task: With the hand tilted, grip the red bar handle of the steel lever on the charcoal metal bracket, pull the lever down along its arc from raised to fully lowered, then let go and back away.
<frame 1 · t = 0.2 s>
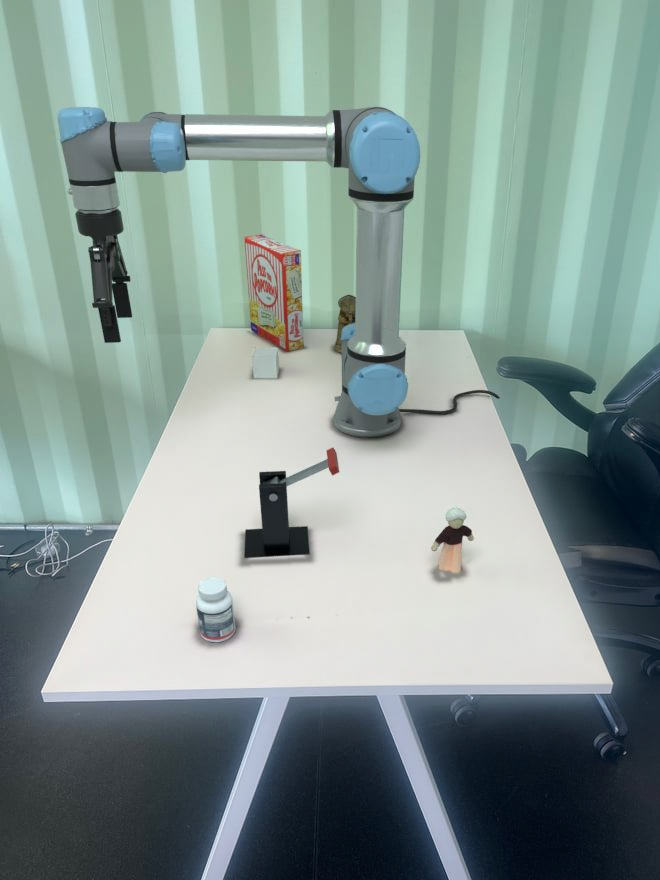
hand: (119, 329, 142), 28 cm above the table, tool pointing down, fingers open, 13 cm apart
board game: (277, 340, 218), on the table
grandmother figurine: (451, 572, 127), on the table
bracket: (277, 546, 132), on the table
bronze figurine: (350, 352, 211), on the table
lever: (300, 475, 125), point 14 cm above the table, hinge at 25.0°
pill bottle: (218, 632, 114), on the table
adhesive note: (266, 374, 197), on the table
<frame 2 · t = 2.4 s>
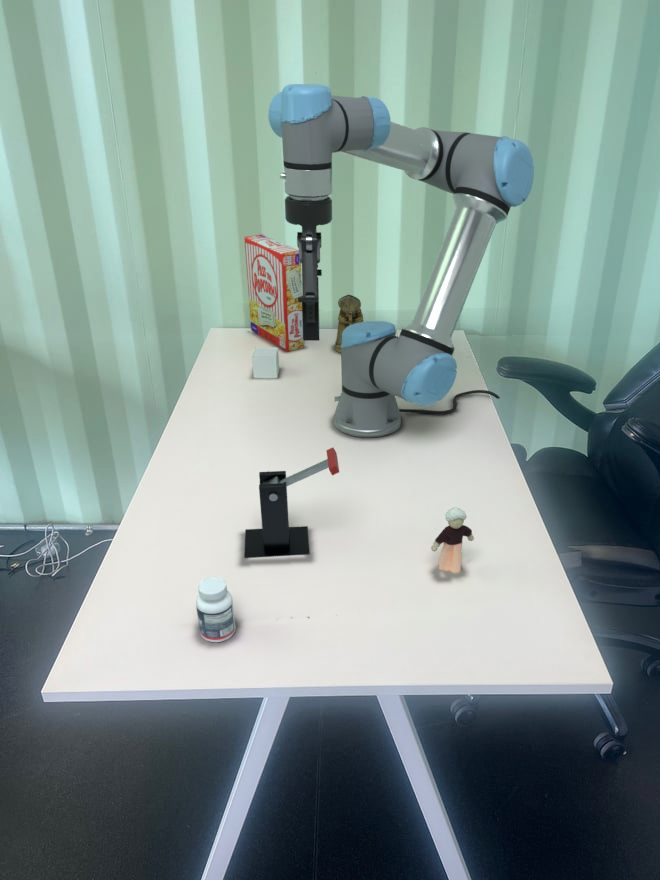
hand: (311, 326, 132), 33 cm above the table, tool pointing down, fingers open, 13 cm apart
nothing on the table moved.
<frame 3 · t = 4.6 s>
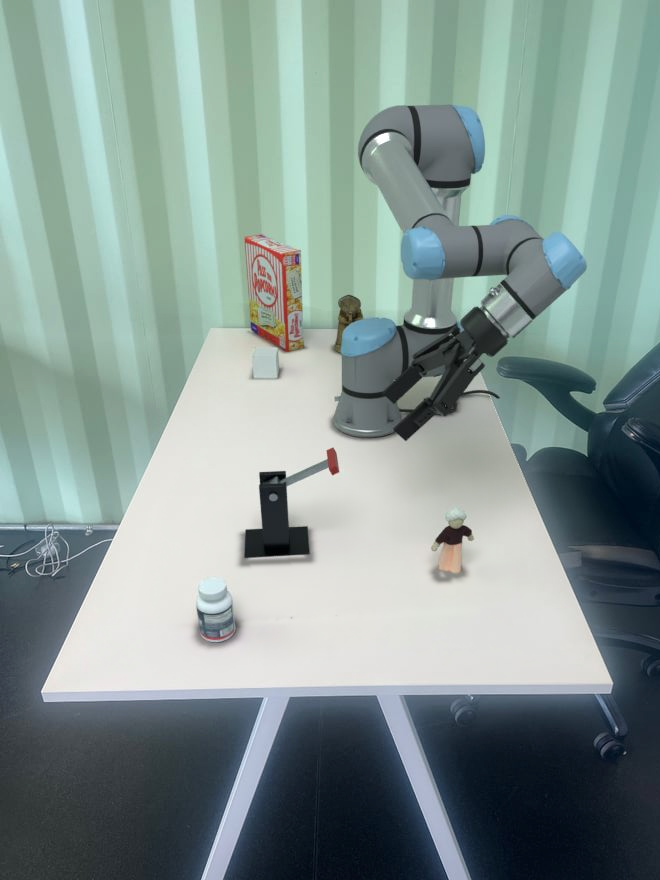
hand: (393, 415, 121), 24 cm above the table, tool tilted 45°, fingers open, 13 cm apart
nothing on the table moved.
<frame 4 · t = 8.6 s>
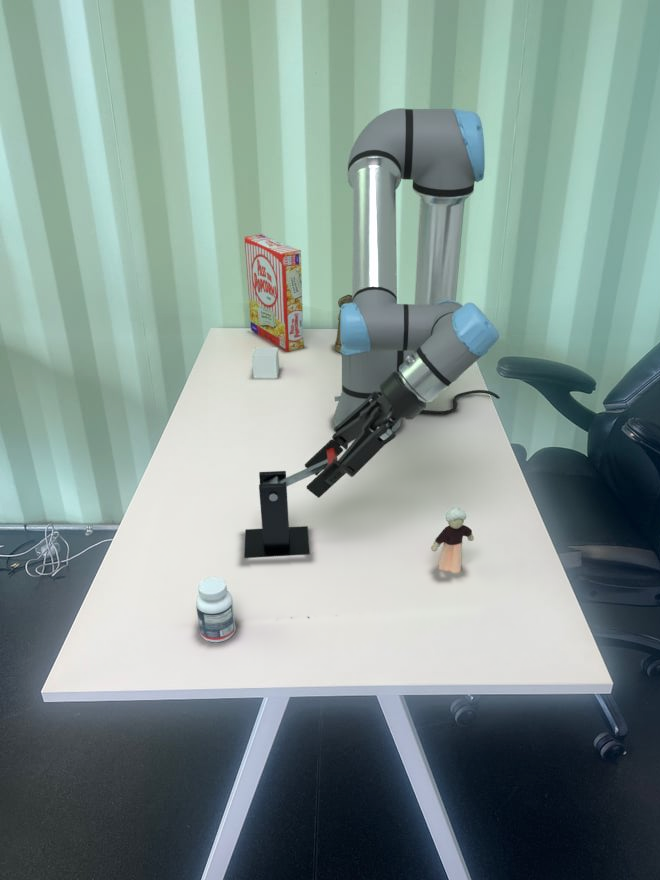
hand: (311, 480, 126), 13 cm above the table, tool tilted 45°, fingers closed on lever, 6 cm apart
lever: (300, 475, 125), point 14 cm above the table, hinge at 25.0°, touching gripper
everything else where it was.
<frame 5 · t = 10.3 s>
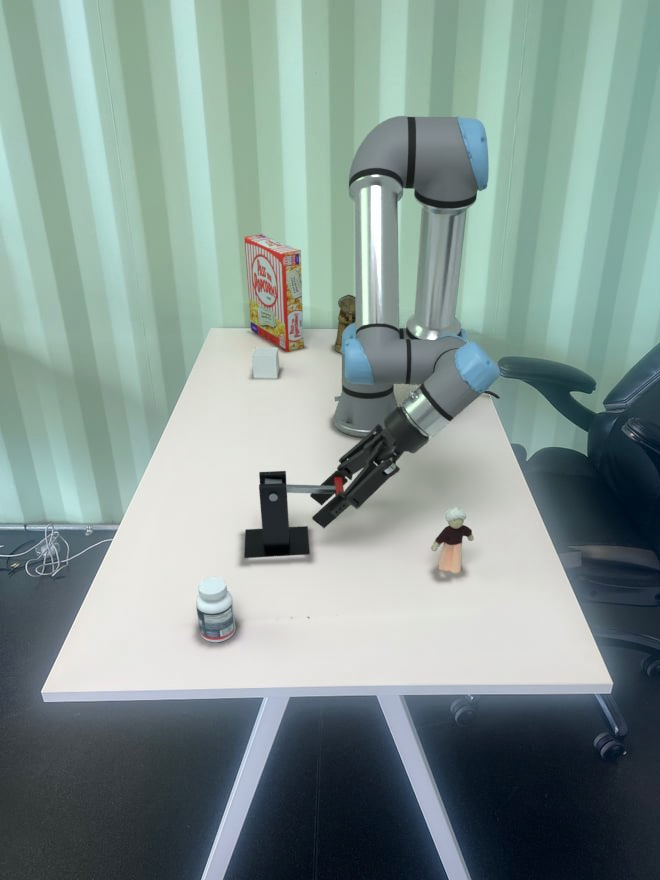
hand: (317, 510, 129), 7 cm above the table, tool tilted 45°, fingers closed on lever, 7 cm apart
lever: (304, 489, 126), point 12 cm above the table, hinge at -5.1°, touching gripper
everything else where it was.
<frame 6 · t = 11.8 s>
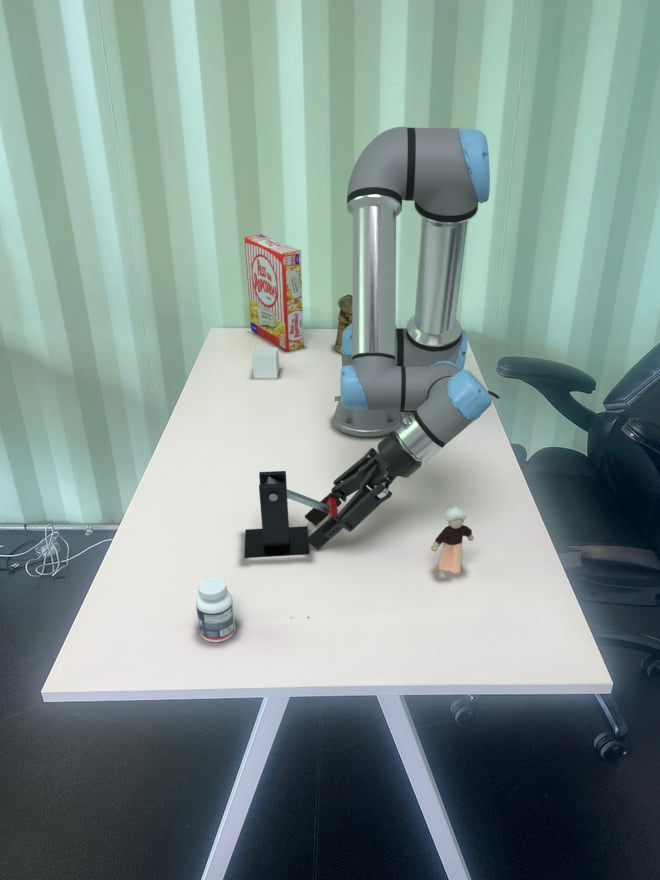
hand: (311, 532, 131), 3 cm above the table, tool tilted 45°, fingers closed on lever, 7 cm apart
lever: (301, 498, 127), point 10 cm above the table, hinge at -27.5°, touching gripper
everything else where it was.
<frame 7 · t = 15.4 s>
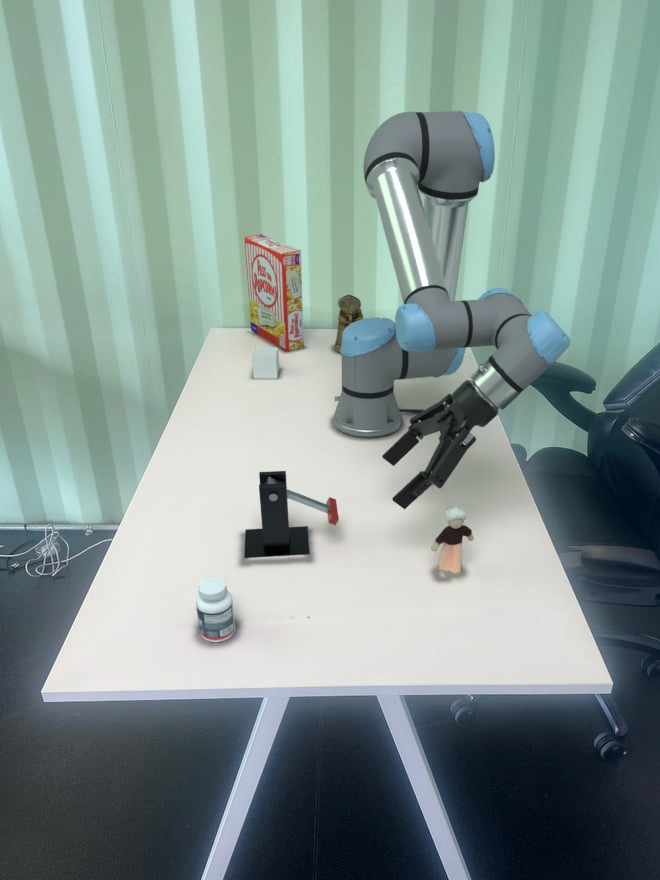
hand: (392, 481, 128), 12 cm above the table, tool tilted 40°, fingers open, 13 cm apart
lever: (301, 498, 127), point 10 cm above the table, hinge at -27.7°
everything else where it was.
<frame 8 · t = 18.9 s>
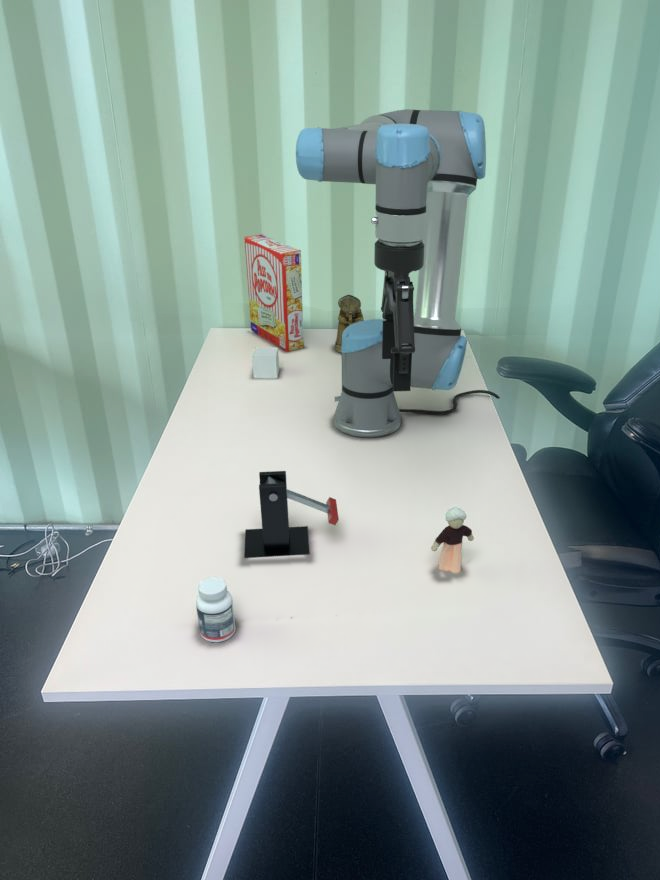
hand: (395, 373, 125), 29 cm above the table, tool pointing down, fingers open, 13 cm apart
nothing on the table moved.
at the end: lever at -28° (first picture: +25°); the gripper is holding nothing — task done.
